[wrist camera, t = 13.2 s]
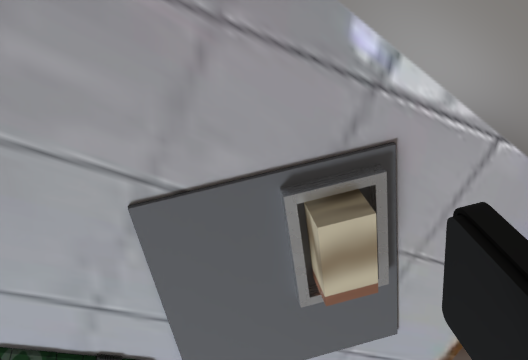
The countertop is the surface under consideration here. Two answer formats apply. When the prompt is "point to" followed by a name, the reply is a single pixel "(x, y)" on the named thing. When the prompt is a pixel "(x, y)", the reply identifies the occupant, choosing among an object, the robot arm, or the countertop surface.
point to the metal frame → (328, 187)
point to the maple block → (343, 246)
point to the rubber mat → (256, 268)
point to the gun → (49, 355)
